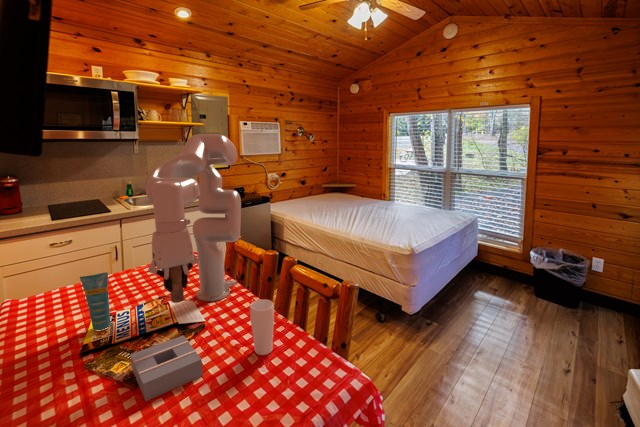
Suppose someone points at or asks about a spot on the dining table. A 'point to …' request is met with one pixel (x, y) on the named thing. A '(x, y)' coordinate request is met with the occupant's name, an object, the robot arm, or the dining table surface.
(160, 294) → the dining table surface
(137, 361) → the socket block
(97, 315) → the tube
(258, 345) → the drinking glass
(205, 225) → the robot arm
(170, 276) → the walnut peg
